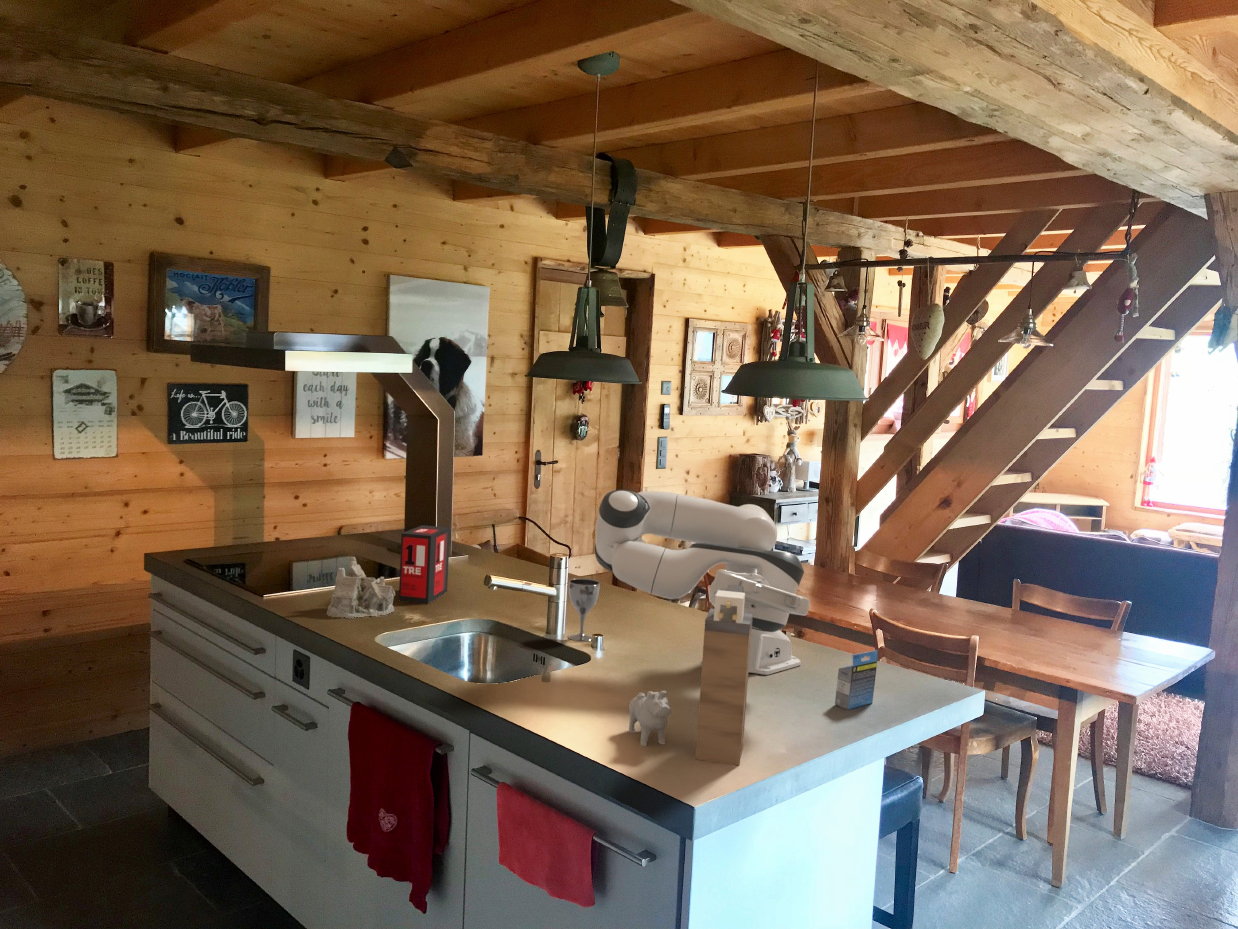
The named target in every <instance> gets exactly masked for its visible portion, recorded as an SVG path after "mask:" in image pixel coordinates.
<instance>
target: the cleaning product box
mask: <svg viewBox="0 0 1238 929" xmlns="http://www.w3.org/2000/svg"><path fill="white" fill-rule="evenodd" d="M450 536H451V527H445V526H435V525H419V526H417V527H414V528H412V529H409V530H407V531H405V532H401V540H400V541H401V544H400V560H399V562H400V566H399V583H398V584H399V587H398V588H399V590H398V601H399V600H400V601H399V602H401V601H409V602H408V603H411V602H417V603H416V604H421V603H425V604H424V605H429V604H431V603H432V602H434V601H435V600H437V599H438V597H439V596H440V597H442V596H443V595H445V594H446V593H445V592H447V593H448V583H449V582H448V579H449V578H448V576H449V561H450V560H449V559H450V556H449V555H450V539H451V538H450ZM444 593H445V594H444ZM441 595H442V596H441ZM440 597H439V598H440ZM436 598H437V599H436ZM433 600H434V601H433ZM431 601H432V602H431ZM430 602H431V603H430ZM428 603H429V604H428Z"/></svg>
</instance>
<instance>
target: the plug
mask: <svg viewBox="0 0 1238 929" xmlns="http://www.w3.org/2000/svg"><path fill="white" fill-rule="evenodd" d="M743 592H744V586H737V585H728V587H727V590H726V591H722V590H718V591H717V593H716V596H715V607H714V608H713V609H714V620H715V621H724V622H733V623H742V620H743V616H744V603H745V593H743Z"/></svg>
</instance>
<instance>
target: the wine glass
mask: <svg viewBox="0 0 1238 929" xmlns="http://www.w3.org/2000/svg"><path fill="white" fill-rule="evenodd" d="M568 582H569V583H568V595H569V600H570V603H571V605H572V606H573V607H574V609H575V610H576V612H577V613H578V615H579V621H580V622H579V625H580V629H579V633H575V634H574V633H573V634H569V635H567V639H568V638H569V639H568V640H570V639H572V640H571V641H573V640H574V642H580V641H581V643H582V642H583V643H584V642H586V641H587V642H592V641H591V639H592V636H593V635H589V634H586V633H585V632H584V625H585V624H584V623H585V619H586V616H587V614H588V613H589V611H591V609H592V608H593V607H595V605H596V604H597V602H598V601H597V600H598V598H599V595H600V594H599V592H600V588H601V587H600V585H601V583H600V581H599V580H597V579H593V578H584V577H582V578H581V577H580V578H579V577H577V578H571V579H569V581H568Z"/></svg>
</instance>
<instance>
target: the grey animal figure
mask: <svg viewBox="0 0 1238 929" xmlns="http://www.w3.org/2000/svg"><path fill="white" fill-rule="evenodd" d="M668 700H669V699H668V693H667V690H661V691H657V692H656V691H655V692H653V691H652V690H650V691H649V690H648V691H647V693H646V694H645V693H644V692H639V693H638V694H637V695H636V697H633V698H632V699H631V700H630V702H629V705H628V710H629V725H628V732H629V733H630V734H635V733H637V731H636V728H635V725H636V723H637V722H638V723H639V724H638V725H639V727H640V730H641V731H640V740H639V745H640V746H644V747H646V746H648V740H649V735H650V733H651V732H653V731H657V743H658V744H661V745H665V744H666V740H665V736H666V733H665V732H666V728H667V723H668V717H669V716H670V714H671V712H672V709H671V708H670V706H669V701H668Z"/></svg>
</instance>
